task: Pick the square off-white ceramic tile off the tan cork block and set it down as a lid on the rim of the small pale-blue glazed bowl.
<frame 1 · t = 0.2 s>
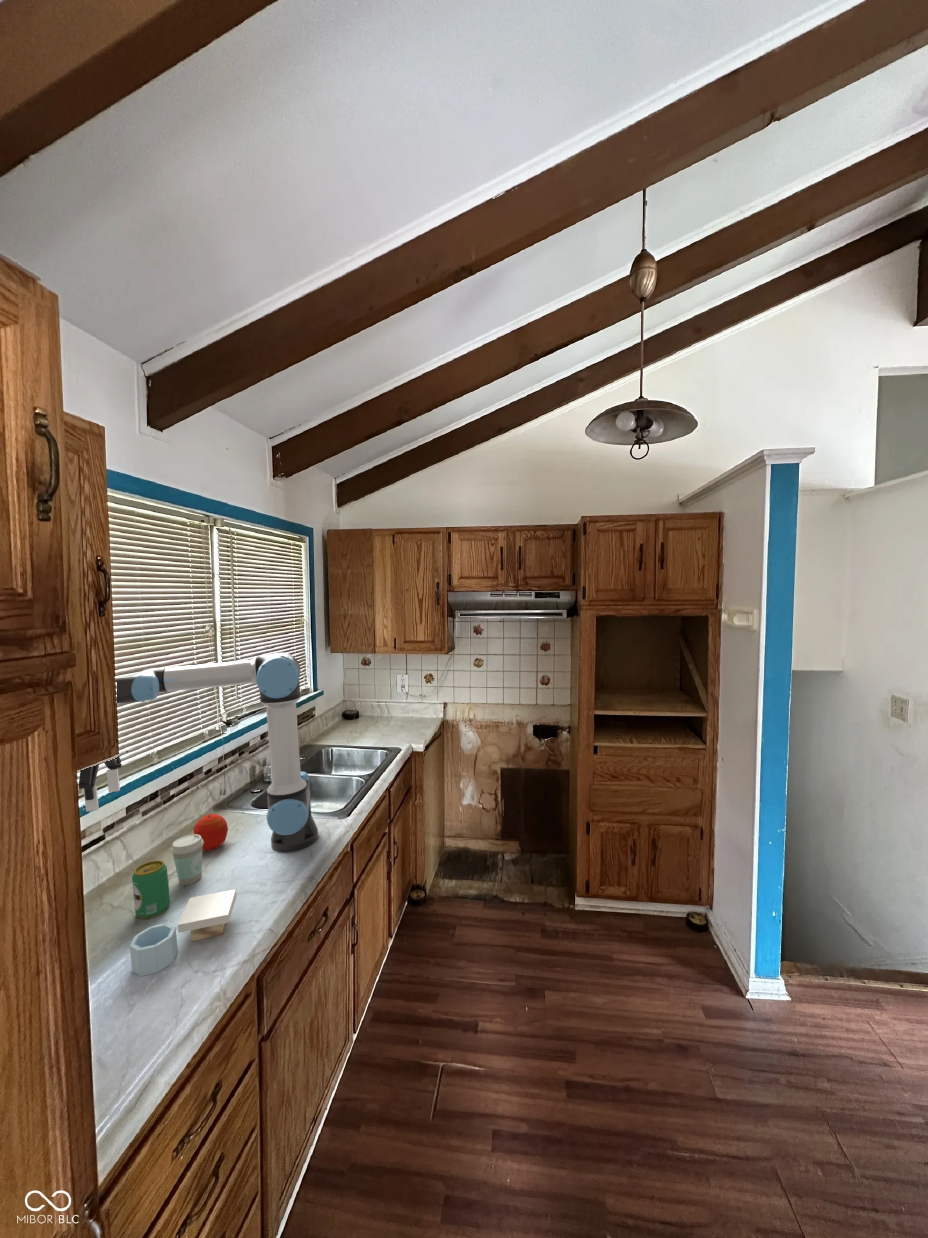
hand: (104, 800, 142), 28 cm above the counter, fingers open, 13 cm apart
beverage can: (153, 911, 135), on the counter
apple: (212, 847, 168), on the counter
coffee cup: (190, 880, 149), on the counter
cork block: (210, 929, 126), on the counter
bowl: (155, 961, 116), on the counter
ceramic tile: (209, 913, 126), point 4 cm above the counter, touching cork block
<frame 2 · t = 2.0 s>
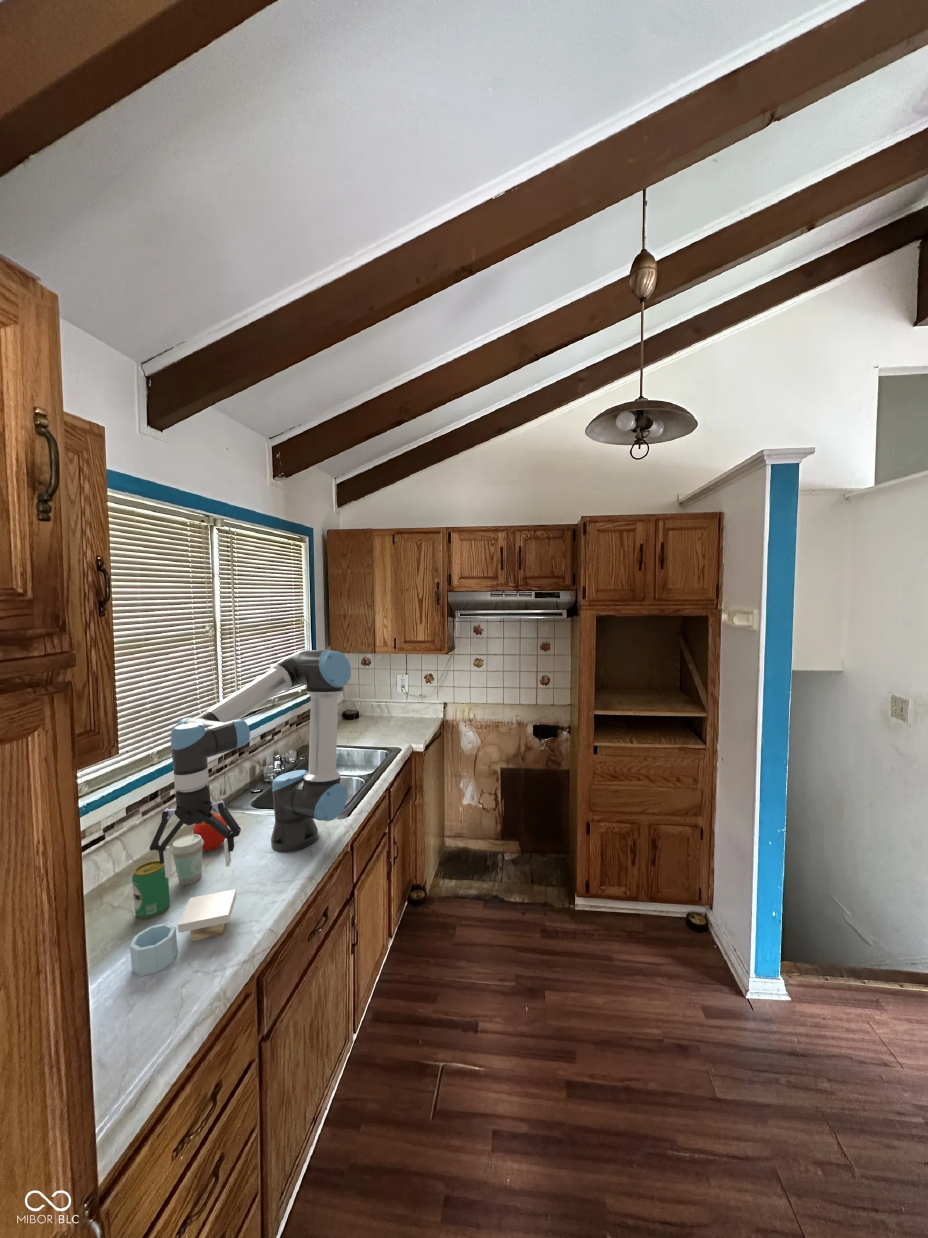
hand: (199, 869, 126), 15 cm above the counter, fingers open, 13 cm apart
nothing on the counter moved.
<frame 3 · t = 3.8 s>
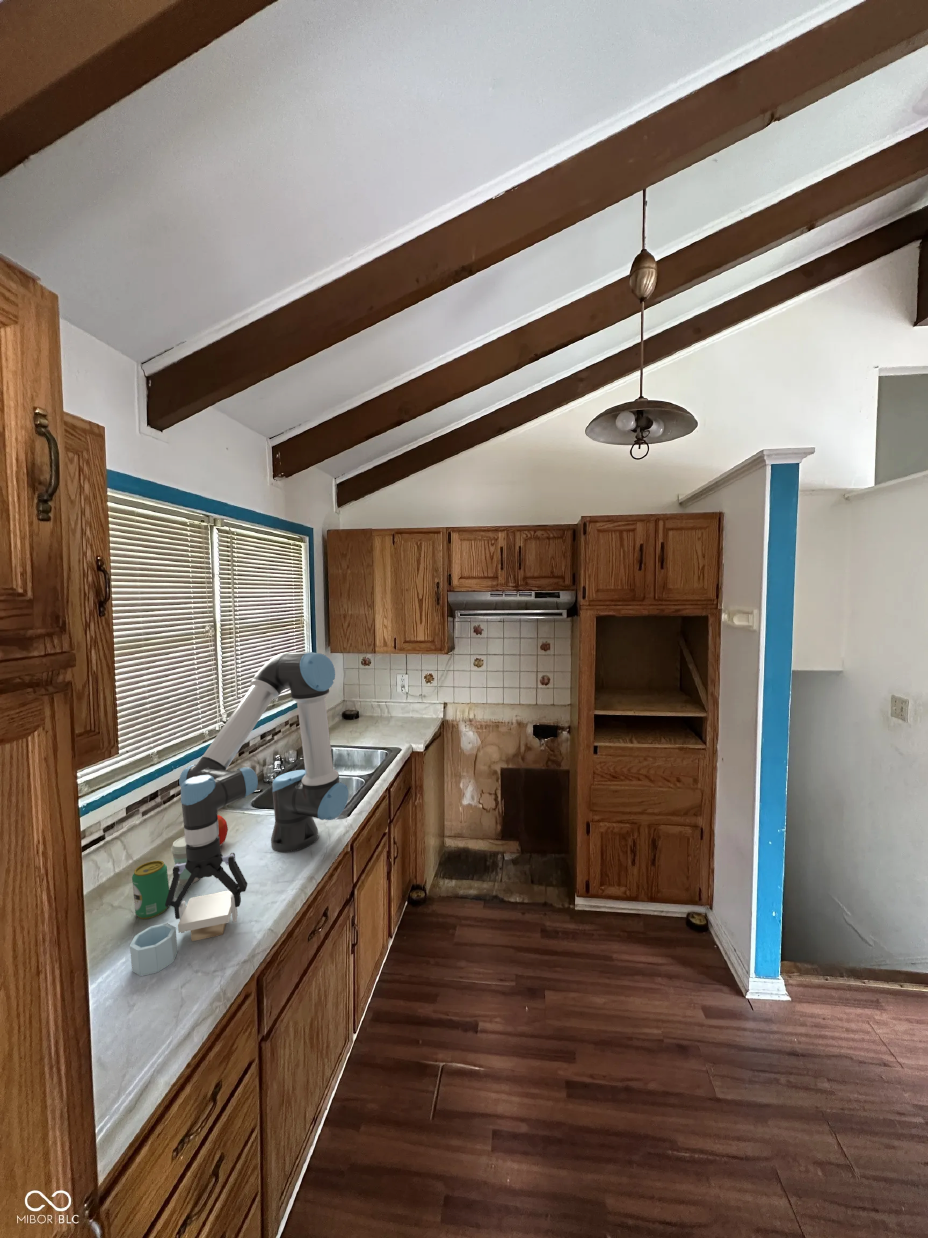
hand: (210, 924, 126), 1 cm above the counter, fingers closed on ceramic tile, 11 cm apart
ceramic tile: (209, 913, 126), point 4 cm above the counter, touching cork block, gripper
everything else where it was.
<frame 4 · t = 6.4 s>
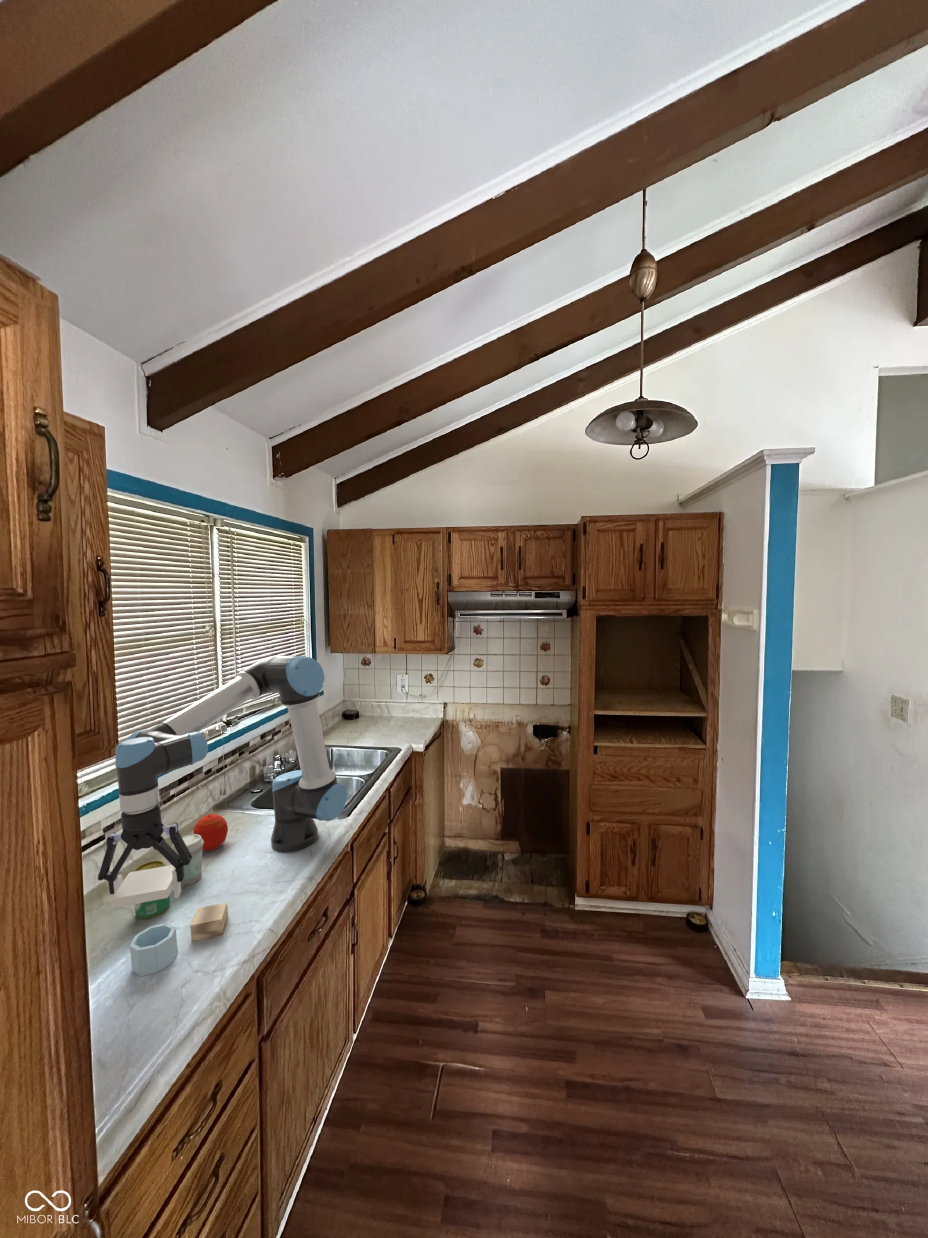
hand: (149, 900, 115), 15 cm above the counter, fingers closed on ceramic tile, 11 cm apart
ceramic tile: (148, 889, 115), point 17 cm above the counter, touching gripper
everything else where it was.
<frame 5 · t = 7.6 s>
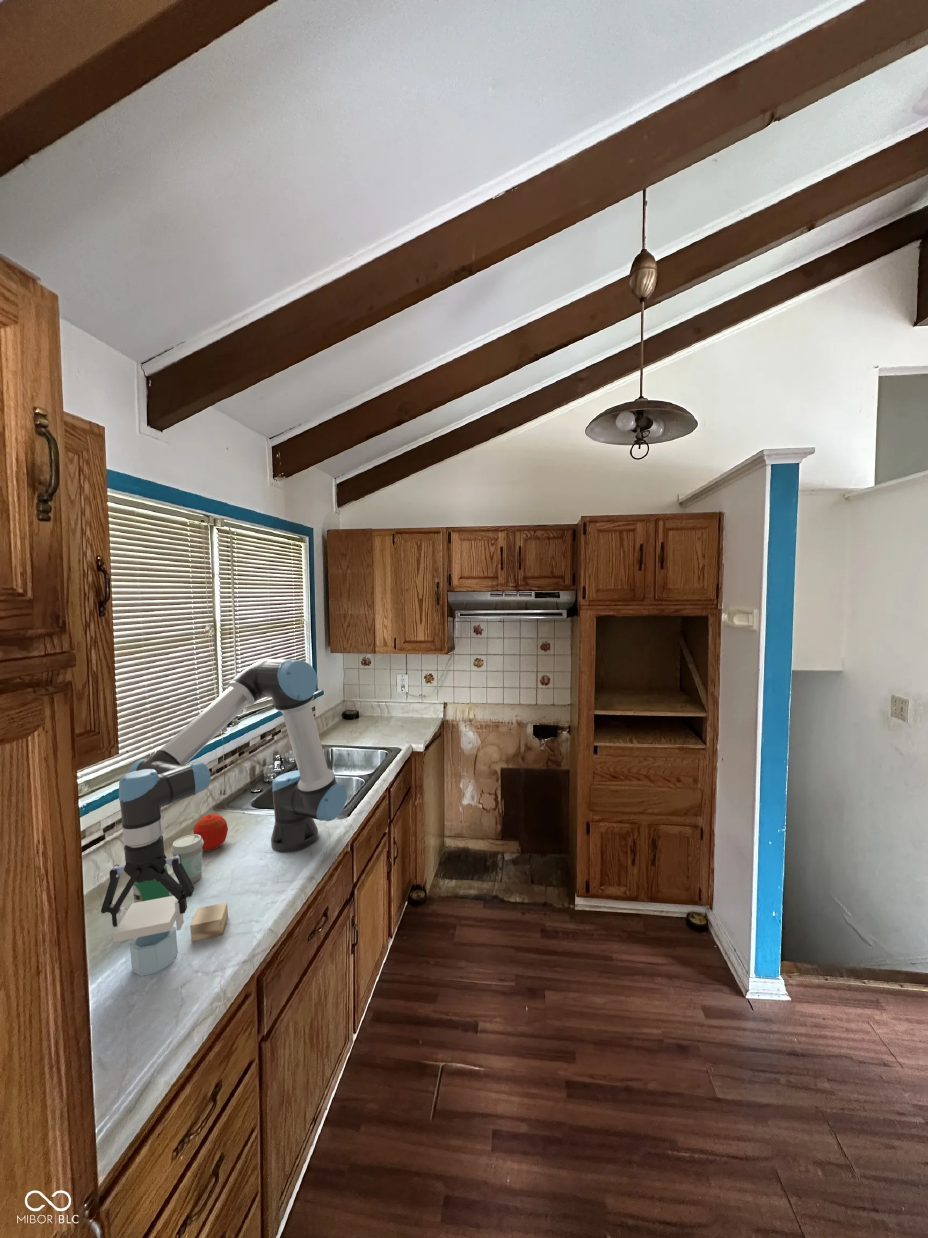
hand: (152, 932, 115), 7 cm above the counter, fingers closed on ceramic tile, 11 cm apart
ceramic tile: (151, 920, 115), point 10 cm above the counter, touching gripper
everything else where it was.
when the fingers open (5 cm above the counter, at t = 8.7 s): ceramic tile drops 1 cm, resting on bowl.
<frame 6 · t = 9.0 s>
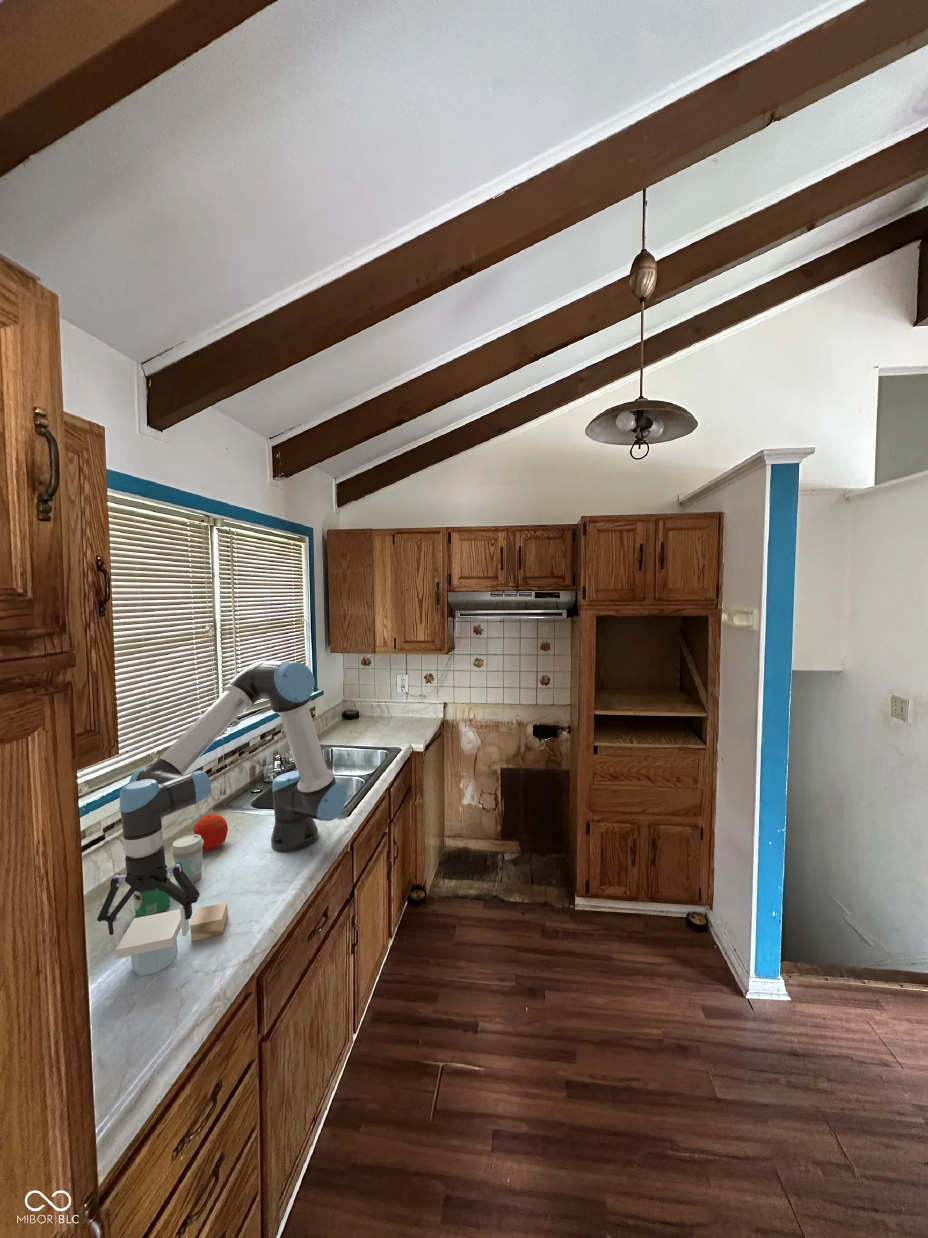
hand: (153, 939, 115), 5 cm above the counter, fingers open, 13 cm apart
ceramic tile: (153, 936, 115), point 6 cm above the counter, touching bowl
everything else where it was.
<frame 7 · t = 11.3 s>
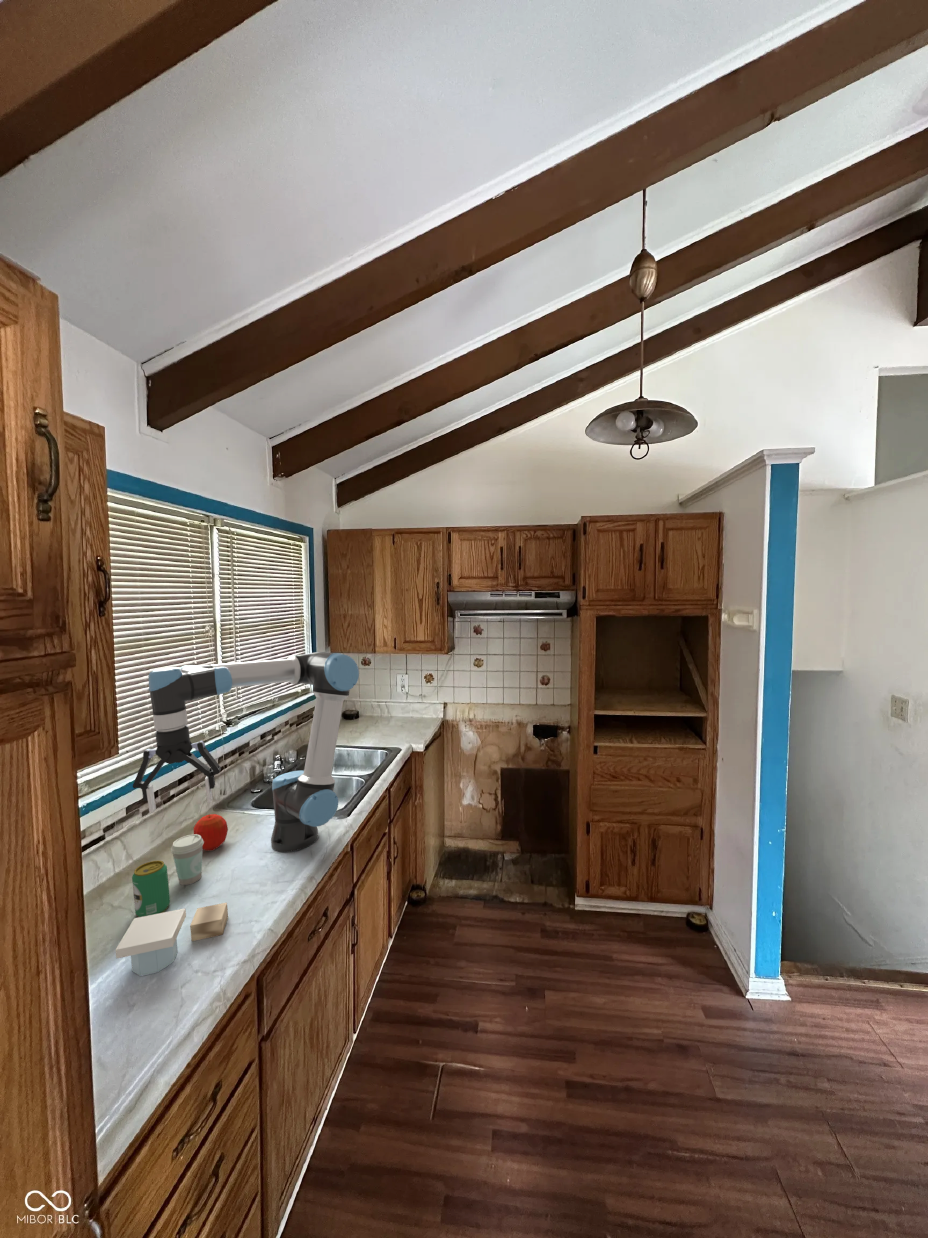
hand: (181, 806, 132), 29 cm above the counter, fingers open, 13 cm apart
nothing on the counter moved.
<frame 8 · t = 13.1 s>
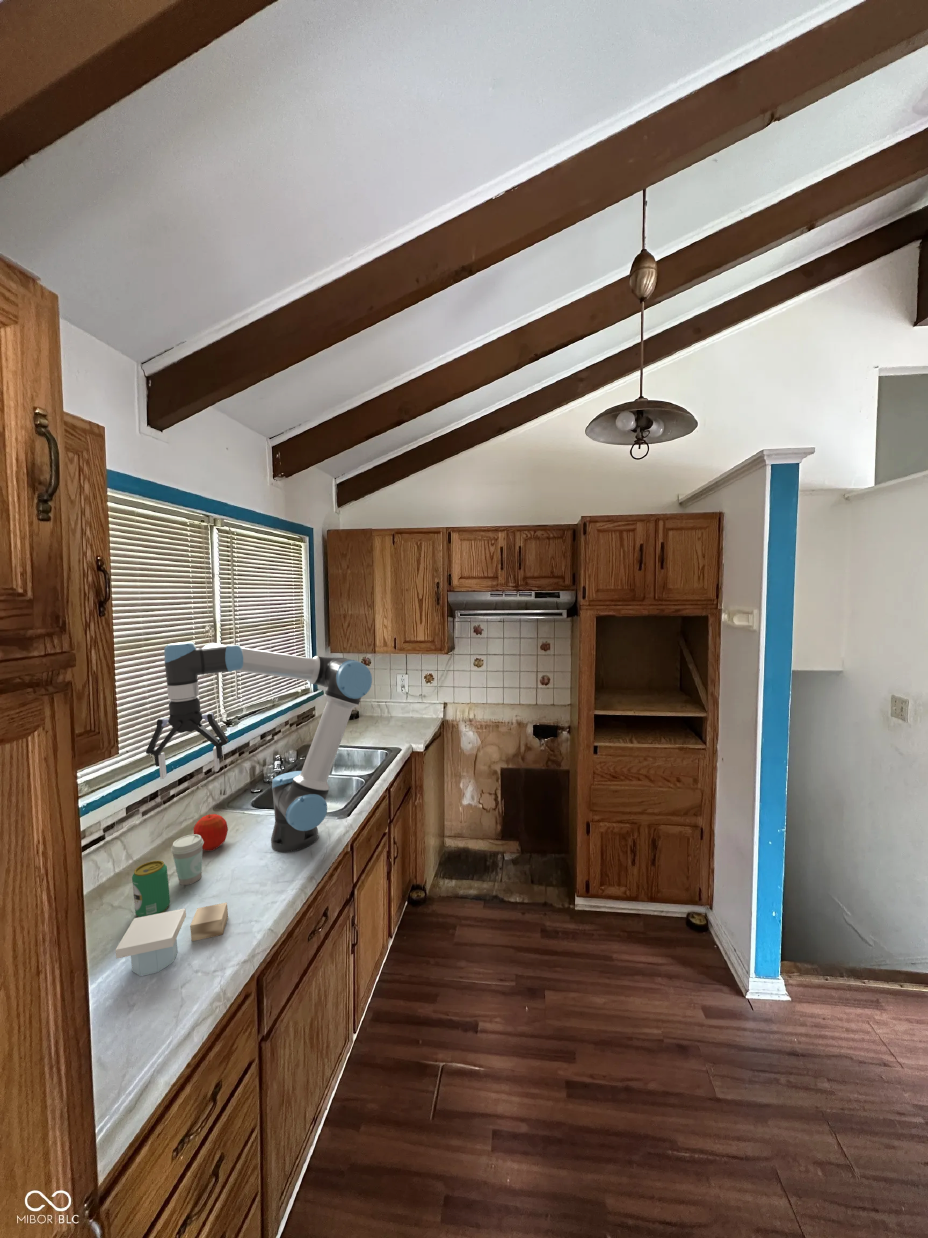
hand: (190, 773, 140), 35 cm above the counter, fingers open, 13 cm apart
nothing on the counter moved.
at the end: ceramic tile 0.0 cm off-centre on the bowl, point 6.0 cm above the bowl's base; ceramic tile tilted 0°; the gripper is holding nothing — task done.
